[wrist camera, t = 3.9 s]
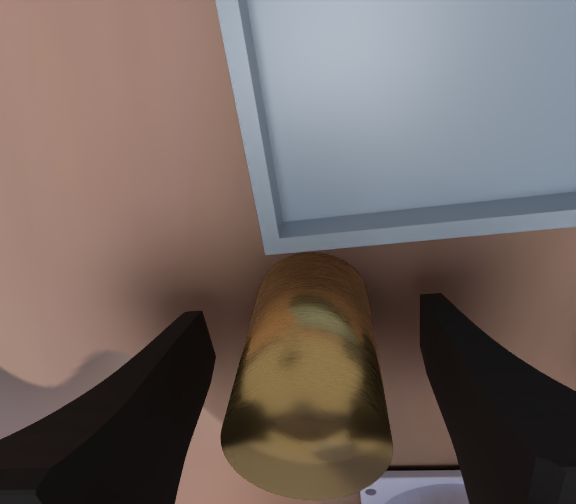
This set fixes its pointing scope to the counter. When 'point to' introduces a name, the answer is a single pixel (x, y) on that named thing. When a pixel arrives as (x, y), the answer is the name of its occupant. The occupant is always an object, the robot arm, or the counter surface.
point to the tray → (404, 117)
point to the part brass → (309, 385)
